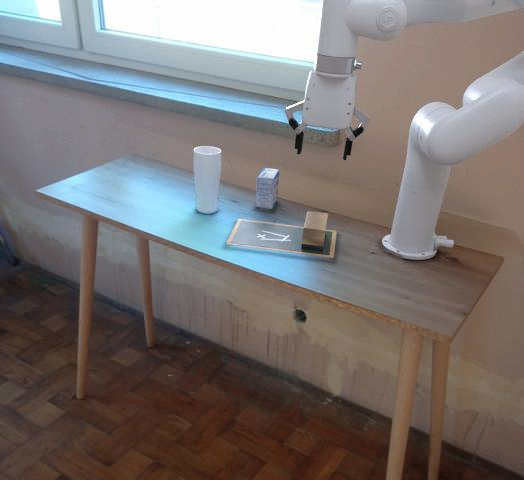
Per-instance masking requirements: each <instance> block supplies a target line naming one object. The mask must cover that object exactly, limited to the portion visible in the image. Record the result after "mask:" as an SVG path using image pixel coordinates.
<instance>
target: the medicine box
mask: <svg viewBox="0 0 524 480" xmlns="http://www.w3.org/2000/svg"><path fill="white" fill-rule="evenodd" d="M279 185H280V169H277V168H268V167H263V169H262V170H261V172H259V175H257V177H256V190H255V207H256V208H263V209H271V210H272V209H273V208H274V207H275V205H277V203H278V199H279V198H278V197H279Z"/></svg>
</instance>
